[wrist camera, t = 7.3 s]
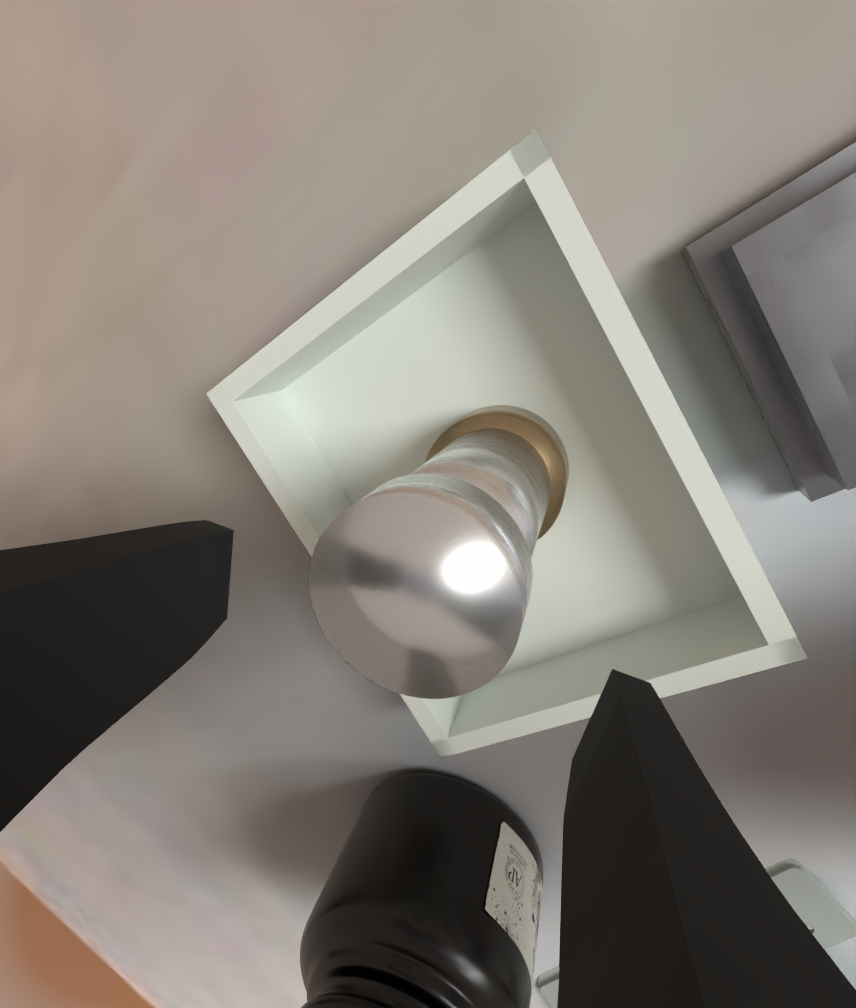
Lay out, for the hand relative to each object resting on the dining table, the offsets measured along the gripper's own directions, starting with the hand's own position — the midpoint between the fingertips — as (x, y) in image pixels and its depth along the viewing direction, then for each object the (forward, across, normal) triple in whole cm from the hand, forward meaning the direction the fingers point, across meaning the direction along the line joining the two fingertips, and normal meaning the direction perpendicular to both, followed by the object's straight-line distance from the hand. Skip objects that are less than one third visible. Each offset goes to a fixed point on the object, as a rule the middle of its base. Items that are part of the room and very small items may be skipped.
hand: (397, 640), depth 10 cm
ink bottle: (+11, -2, +18) cm, 21 cm away
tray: (+10, 0, 0) cm, 10 cm away
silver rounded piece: (+10, 0, -1) cm, 10 cm away
